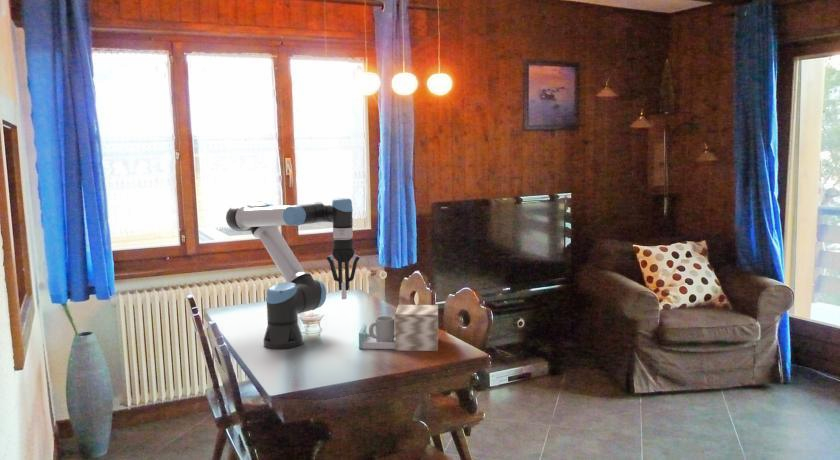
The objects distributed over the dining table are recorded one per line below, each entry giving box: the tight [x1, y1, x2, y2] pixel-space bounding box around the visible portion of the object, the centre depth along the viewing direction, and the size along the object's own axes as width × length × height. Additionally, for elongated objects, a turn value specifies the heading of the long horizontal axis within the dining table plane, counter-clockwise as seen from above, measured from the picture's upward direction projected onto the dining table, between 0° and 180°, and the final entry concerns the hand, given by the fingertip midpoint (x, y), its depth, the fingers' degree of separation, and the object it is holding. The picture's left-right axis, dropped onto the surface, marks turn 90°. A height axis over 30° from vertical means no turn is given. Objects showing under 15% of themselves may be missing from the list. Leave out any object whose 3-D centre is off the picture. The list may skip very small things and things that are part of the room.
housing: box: [394, 304, 439, 352], centre depth 253 cm, size 16×15×14 cm
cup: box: [368, 315, 395, 342], centre depth 254 cm, size 7×10×9 cm
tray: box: [358, 323, 396, 350], centre depth 254 cm, size 19×13×6 cm
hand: (344, 298), depth 253 cm, fingers closed
